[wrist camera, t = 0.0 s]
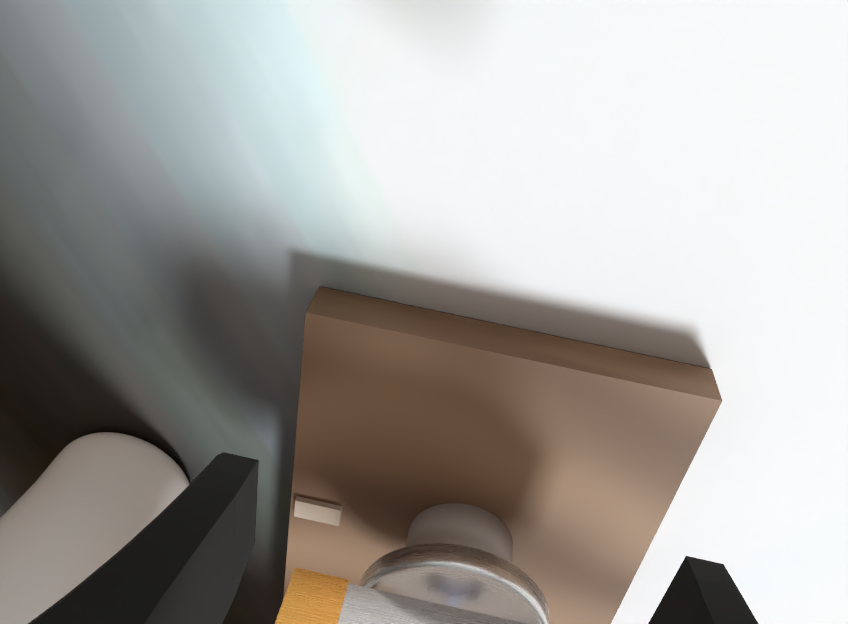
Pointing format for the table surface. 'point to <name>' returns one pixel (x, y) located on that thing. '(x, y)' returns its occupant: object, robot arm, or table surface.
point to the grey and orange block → (419, 591)
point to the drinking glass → (80, 518)
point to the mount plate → (486, 447)
